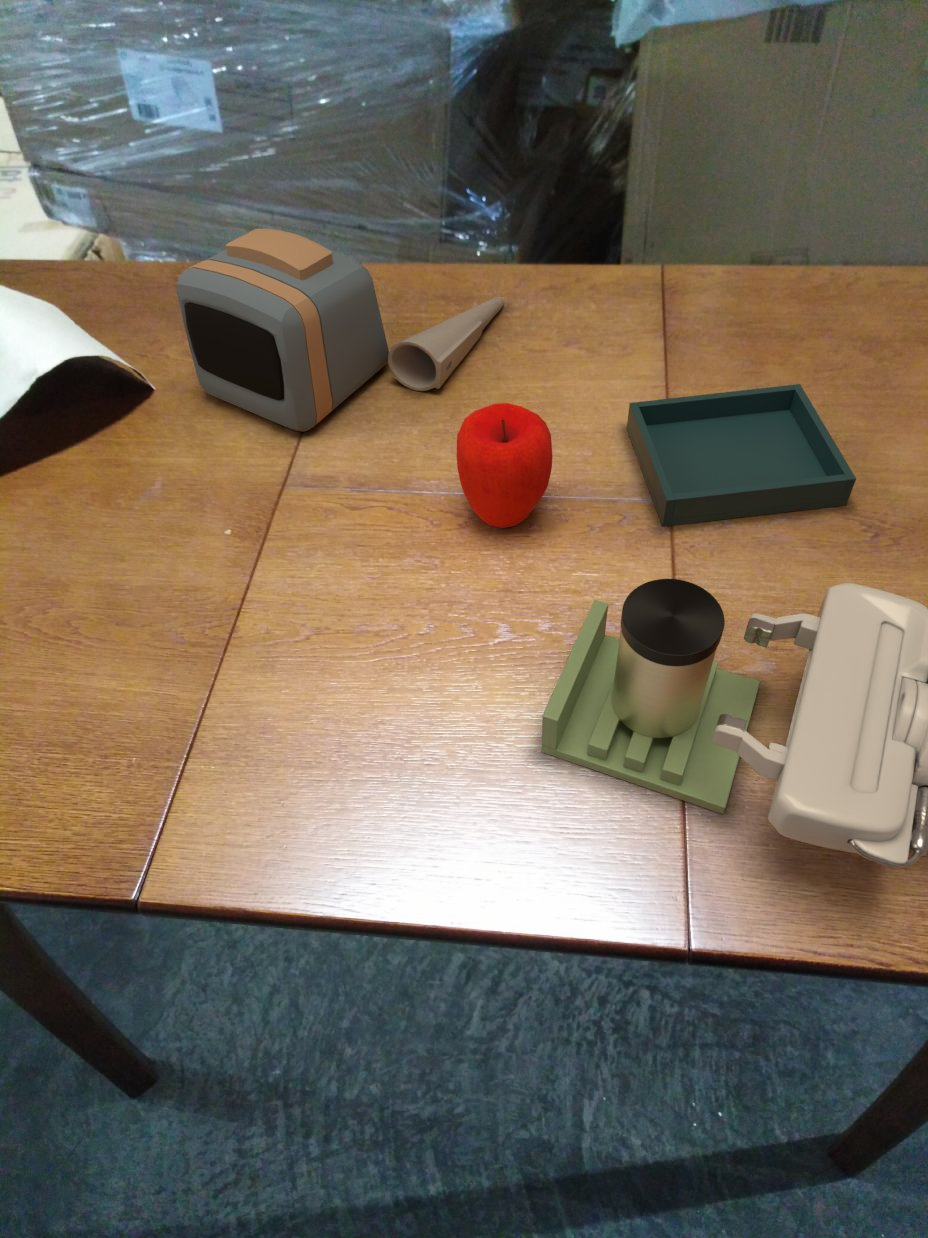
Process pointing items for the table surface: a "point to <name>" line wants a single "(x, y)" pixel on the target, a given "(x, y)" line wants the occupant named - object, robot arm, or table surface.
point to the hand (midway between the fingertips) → (731, 674)
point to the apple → (504, 462)
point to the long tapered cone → (440, 347)
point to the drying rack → (603, 743)
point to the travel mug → (665, 656)
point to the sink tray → (737, 455)
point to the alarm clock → (282, 326)
